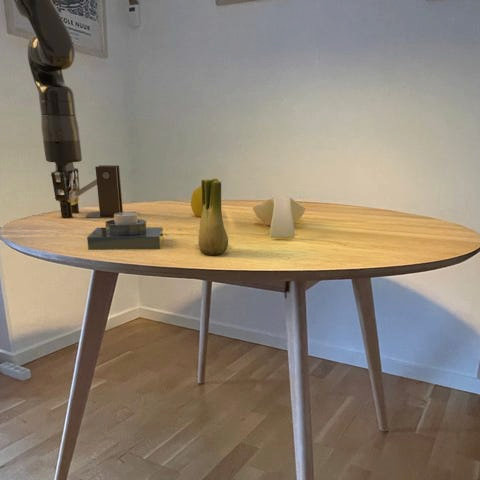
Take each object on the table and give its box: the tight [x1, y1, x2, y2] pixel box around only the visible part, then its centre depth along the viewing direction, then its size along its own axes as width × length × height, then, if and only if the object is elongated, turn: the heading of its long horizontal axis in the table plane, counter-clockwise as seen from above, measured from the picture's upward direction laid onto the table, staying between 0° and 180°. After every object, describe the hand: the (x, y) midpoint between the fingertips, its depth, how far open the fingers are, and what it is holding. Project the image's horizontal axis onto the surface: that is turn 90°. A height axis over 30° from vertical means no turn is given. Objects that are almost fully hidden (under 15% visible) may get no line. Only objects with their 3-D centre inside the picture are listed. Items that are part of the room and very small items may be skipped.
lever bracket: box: [85, 164, 137, 219], centre depth 106 cm, size 10×8×12 cm
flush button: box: [113, 211, 139, 224], centre depth 82 cm, size 4×4×2 cm
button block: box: [86, 218, 164, 251], centre depth 83 cm, size 12×9×4 cm
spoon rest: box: [252, 196, 307, 239], centre depth 98 cm, size 24×12×7 cm, turn 179°
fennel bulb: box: [197, 178, 229, 256], centre depth 75 cm, size 6×5×12 cm
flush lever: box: [71, 166, 111, 205], centre depth 105 cm, size 13×3×3 cm, turn 96°
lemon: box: [190, 184, 202, 218], centre depth 107 cm, size 6×6×8 cm
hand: (70, 217), depth 107 cm, fingers open, 5 cm apart
